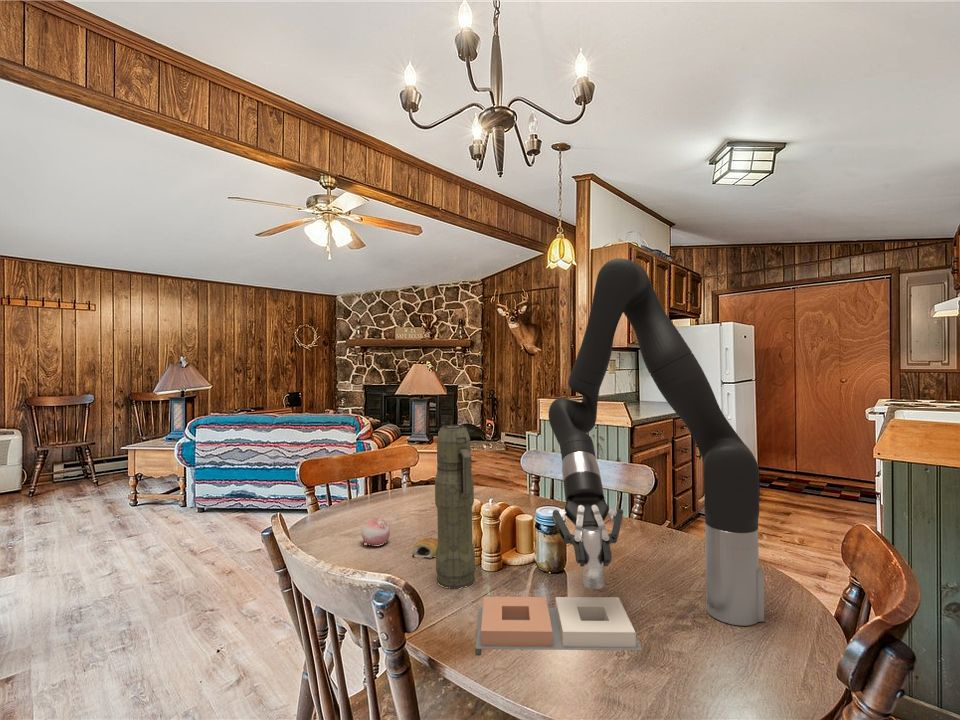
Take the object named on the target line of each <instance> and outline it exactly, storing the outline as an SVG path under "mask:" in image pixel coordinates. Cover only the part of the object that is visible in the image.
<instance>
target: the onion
mask: <svg viewBox="0 0 960 720" xmlns="http://www.w3.org/2000/svg"><path fill="white" fill-rule="evenodd" d="M390 531H391V528H390V524H389V523H388V521H386V520H384V519H383V518H381V517H376V518H373V519H370V520H368V521H367V522H366V523H365V524H364V525H363V527H362V529H361V538H362V539H363V541H364V543H365V542H366V543H367V544H370V545H380V544H383V543H385V542H386V543H387V542H388V541H389V538H390V534H391V532H390ZM386 543H385V544H386ZM370 545H369V546H370ZM383 545H384V544H383Z"/></svg>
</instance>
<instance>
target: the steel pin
mask: <svg viewBox="0 0 960 720" xmlns="http://www.w3.org/2000/svg"><path fill="white" fill-rule="evenodd" d="M581 542H582V543H583V549H584V556H585V566H584V567H582V577H583V579H582V584H583V587H585V588H586V589H590V590H599V589H602V588H603V587H604V586H605V585H604V565H603V552H602V529H600V528H598V527H592V526H589V527H584V528H582V535H581Z"/></svg>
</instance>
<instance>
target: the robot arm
mask: <svg viewBox="0 0 960 720" xmlns="http://www.w3.org/2000/svg"><path fill="white" fill-rule="evenodd" d="M592 297H593V298H592V302H591V308H590V312H589V317H588V320H587V323H586V328H585V332H584V334H583V335H584V336H583V337H582V338H583V339H582V340H581V341H582V342H581V344H580V347H579V349H578V352H577V356H576V358H575V361H574V364H573V366H572V369H571V372H570V375H569V378H568V382H567V383H568V388H570V389H571V390H572V391H574V392H575V393H577V394H579V395H581V396H582V400H581V401H579V400H574V399H569V398H566V397H565V398H564V397H560V398H559V397H558V398H556V399H555V400H553V401H552V403H551V404H550V406H549V407H548V408H549V409H548V421H549V425H550V427H551V430H552V433H553V434H554V436H555V438H556V440H557V443H558V444H559V445H558V446H559V447H560V457H561V466H562V467H561V472H562V477H561V478H562V482H563V490H564V498H565V506H564V508H563V509H561V510H558V509H553V511H552V517H551V518H552V519H551V520H552V522H553V523H554V525H555V528H556V530H557V531H558V533H559V535H560V537H561V539H562V541H563V543H564V544H566V545H568V544H570V545H572V546H573V549H574V556H575V561H576V563H577V564H579V565H580V567H582V568H583V567H584V566H585V556H584V549H583V543H582V528H584V527H589V526H592V527H598V528H600V529H602V552H603V567H608V566H609V564H611V562H612V558H613V556H612V550H611V544H616V543H617V542H618V538H619V535H620V530H621V526H622V520H623V516H624V510H623V509H622V508H618V509H613V508H611V507H610V506H609V505H608V503H606V499H605V494H604V489H603V488H604V487H603V484H602V483H603V482H602V478H601V472H600V467H599V464H598V462H597V456H596V451H595V446H594V442H593V439H592V437H591V435H589V434H588V433H590V432H591V431H592V430H593V429H594V427H595V426H596V423H597V416H598V401H599V395H600V389H601V386H602V384H603V381H604V378H605V376H606V373H607V371H608V367H609V366H610V365H609V364H610V360H611V357H612V353H613V352H612V351H613V345H614V338H615V334H616V331H617V327H618V324H619V321H621V320H620V319H621V318H622V315H623V314H624V316H625V317H626V319H627V320H628V322H629V323H630V325H631V326H632V329H633V330H634V334H635V336H636V340H637V343H638V346H639V350H640V353H641V354H640V355H641V357H642V360H643V363H644V365H645V368H646V370H647V371H648V373H649V374H650V376H651V379H652V380H653V382H654V383H655V385H656V387H657V389H658V390H659V392H660V394H661V395H662V397H663V398H664V399H665V402H667V403H668V405H669V406H670V407H671V409H672V410H673V411H674V412H675V414H676V415H677V416H679V419H681V421H682V422H683V423H684V424H685V427H686V428H687V430H688V431H689V433H690V434H691V436H692V439H693V441H694V442H695V445H696V447H697V449H698V451H699V453H700V456H701V458H702V461H703V485H704V486H703V487H704V488H703V489H704V491H703V492H704V506H703V507H704V508H703V509H704V543H705V544H704V545H705V546H704V548H705V550H704V551H705V552H704V553H705V564H704V565H705V608H706V611H707V614H708V615H710V616H712V618H714V619H716V620H717V621H720V622H722V623H726V624H729V625H733V626H742V627H743V626H744V627H745V626H753V625H755V624H757V623H758V622H765V581H764V580H765V574H764V570H763V569H762V568H761V567H760V566H759V565H760V563H759V562H760V561H759V560H760V559H759V556H760V555H759V551H760V550H759V516H760V469H759V464H758V462H757V459H756V457H755V456H754V454H753V452H752V451H751V450H750V448H749V447H748V446H747V445H746V444H745V443H744V441H743V440H742V439H741V437H740V436H739V435H738V433H737V432H736V431H735V430H734V428H733V426H732V425H731V424H730V422H729V421H728V419H727V417H725V415H724V414H723V411H722V409H721V407H720V405H719V403H718V400H717V397H716V395H715V394H714V391H713V389H712V386H711V384H710V382H709V380H708V378H707V376H706V374H705V372H704V369H703V368H702V367H701V364H700V363H699V361H698V360H697V358H696V356H695V355H694V353H693V351H692V350H691V348H690V346H689V345H688V343H687V342H686V341H685V339H684V337H683V336H682V335H681V333H680V331H679V330H678V328H677V327H676V326H675V324H674V323H673V322H672V320H671V319H670V317H669V316H668V314H667V313H666V312H665V310H664V308H663V306H662V304H661V302H660V300H659V298H658V295H657V294H656V291H655V289H654V287H653V285H652V282H651V280H650V277H649V275H648V273H647V271H646V270H645V269H644V267H643V266H642V265H640V264H639V263H638V262H636V261H632V260H629V259H626V258H622V257H621V258H619V257H617V258H613V259H610V260H608V261H607V262H605V263H604V264H603V266H601V268H600V269H599V272H598V274H597V277H596V281H595V286H594V291H593V296H592ZM607 516H609V517H610V521H611V522H612V523H613V525H612V528H611V529H612V530H611V533H608V531H607V529H606V524H605V522H604V521H605V520H606V518H607ZM566 517H567V519H569V521H570V522H572V524H573V525H574V534H573V533H571V531H570V530H569V528H568V525H567V524H566V523H565V522H566Z"/></svg>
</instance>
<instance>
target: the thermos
mask: <svg viewBox="0 0 960 720" xmlns="http://www.w3.org/2000/svg"><path fill="white" fill-rule="evenodd" d="M436 462H437V467H436V468H437V469H436V470H437V472H436V475H435V478H434V500H435V502H434V504H435V506H436V508H437V509H436V510H437V539H438V546H437V549H436V557H435V572H436V583H437V582H438V583H439V584H440V585H442V586H444V587H448V588H449V587H450V588H461V587H465V586H468V587H470V586H471V584H472V583H473V582H474V583H475V581H476V578H475V571H476V549H475V547H474V544H473V543H474V542H473V505H474V503H475V498H474V497H475V492H474V491H475V487H474V480H475V479H474V478H473V475H472V454H471V437H470V434H469V431H468V429H467V427H466V426H464V425H462V424H448V425H446V424H445V425H443V426H442V427H440V428H439V431H438V435H437V438H436ZM438 583H437V584H438ZM474 583H473V584H474ZM473 584H472V585H473ZM440 585H439V586H440ZM469 585H470V586H469ZM444 587H443V588H444ZM448 588H447V589H448ZM465 588H466V587H465ZM461 589H462V588H461Z"/></svg>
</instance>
